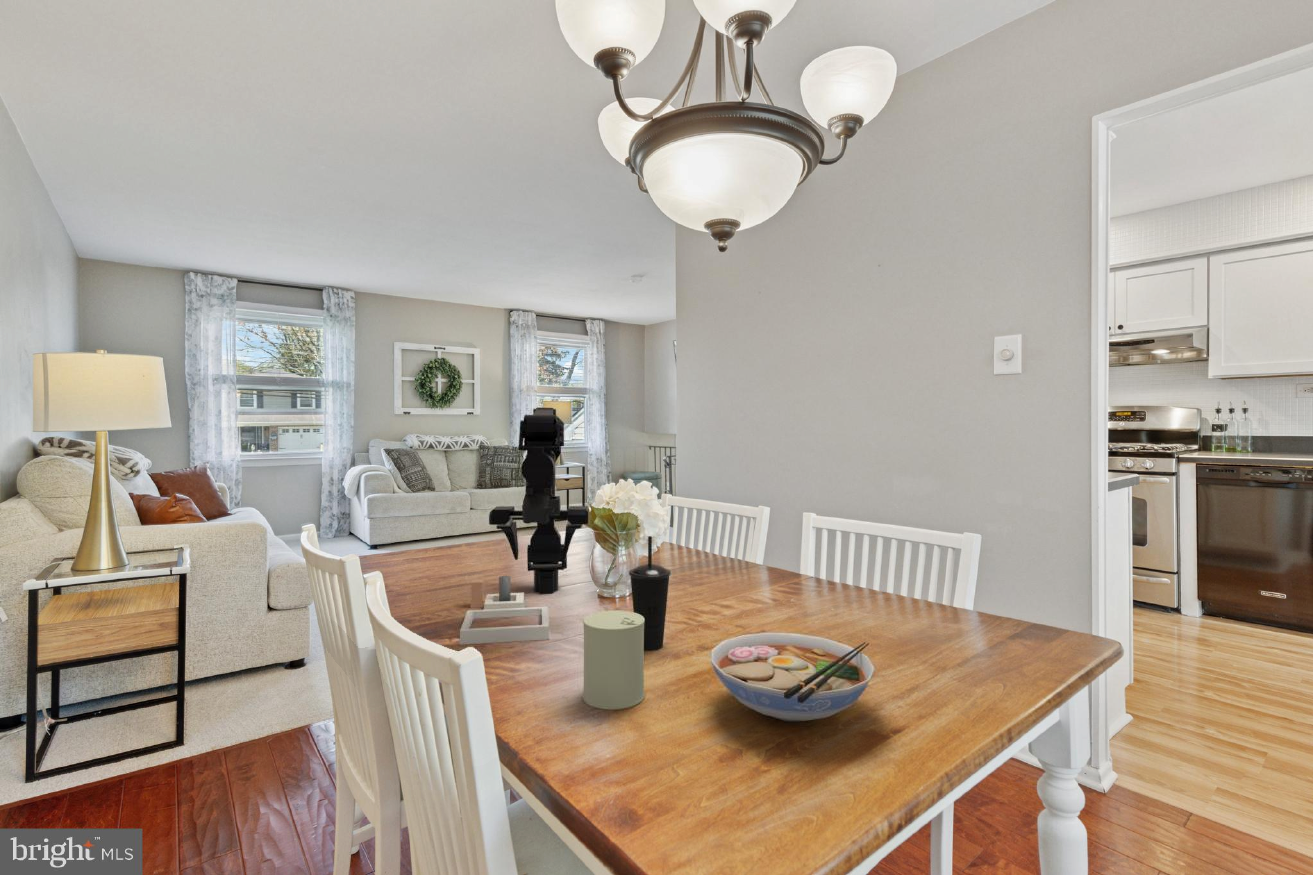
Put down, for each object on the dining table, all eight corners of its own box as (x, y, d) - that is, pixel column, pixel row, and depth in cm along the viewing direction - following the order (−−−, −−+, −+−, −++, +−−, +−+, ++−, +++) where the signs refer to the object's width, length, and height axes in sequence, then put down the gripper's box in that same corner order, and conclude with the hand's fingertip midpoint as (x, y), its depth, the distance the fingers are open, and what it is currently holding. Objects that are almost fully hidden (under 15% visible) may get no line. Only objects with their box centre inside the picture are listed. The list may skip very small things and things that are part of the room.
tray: (467, 622, 128) (467, 610, 128) (547, 618, 131) (547, 606, 131) (459, 644, 115) (459, 631, 115) (548, 639, 118) (548, 626, 118)
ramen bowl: (763, 664, 106) (763, 616, 106) (901, 703, 92) (902, 647, 92) (671, 717, 87) (672, 658, 87) (828, 776, 73) (829, 706, 72)
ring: (473, 601, 139) (473, 576, 139) (523, 598, 141) (524, 574, 141) (469, 611, 131) (469, 585, 131) (523, 609, 133) (523, 583, 133)
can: (623, 715, 88) (623, 629, 87) (569, 701, 92) (570, 619, 92) (655, 691, 96) (656, 612, 95) (605, 679, 100) (605, 603, 100)
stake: (484, 605, 140) (484, 573, 140) (526, 603, 142) (526, 571, 142) (481, 617, 131) (481, 583, 131) (525, 615, 133) (525, 581, 133)
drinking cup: (622, 642, 117) (622, 534, 117) (659, 636, 120) (660, 531, 120) (638, 655, 110) (639, 541, 110) (677, 649, 113) (678, 538, 113)
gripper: (482, 483, 114) (482, 569, 114) (586, 483, 115) (586, 569, 115) (494, 477, 125) (494, 556, 125) (589, 477, 126) (589, 555, 126)
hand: (540, 559), depth 123 cm, fingers open, 9 cm apart
